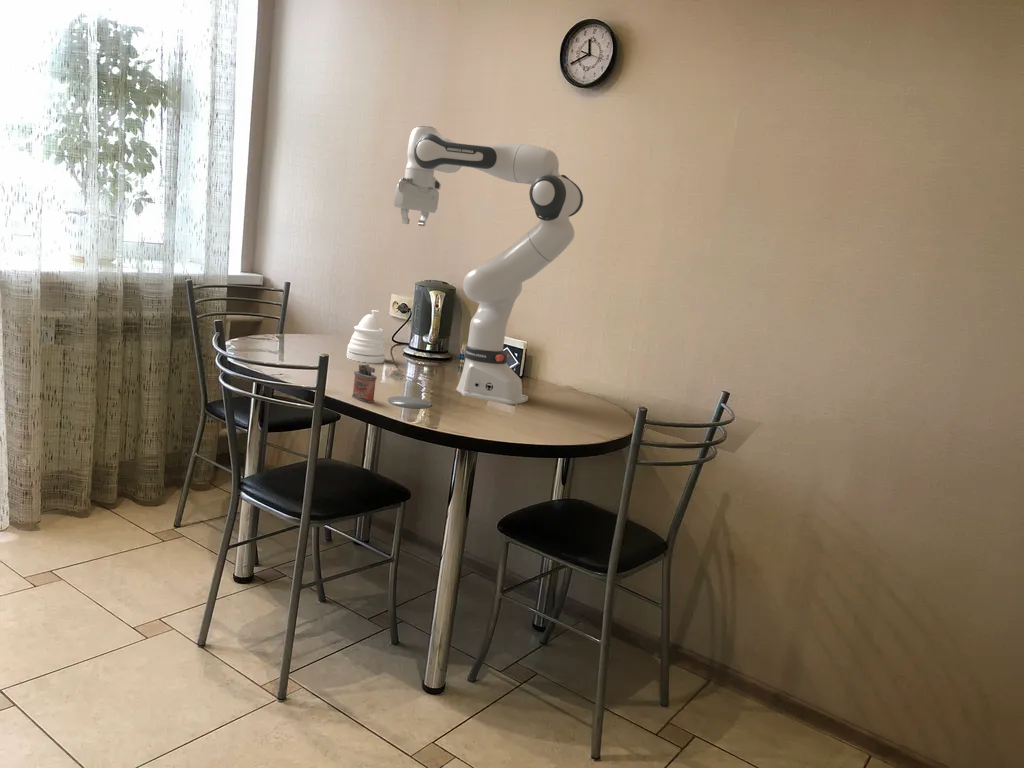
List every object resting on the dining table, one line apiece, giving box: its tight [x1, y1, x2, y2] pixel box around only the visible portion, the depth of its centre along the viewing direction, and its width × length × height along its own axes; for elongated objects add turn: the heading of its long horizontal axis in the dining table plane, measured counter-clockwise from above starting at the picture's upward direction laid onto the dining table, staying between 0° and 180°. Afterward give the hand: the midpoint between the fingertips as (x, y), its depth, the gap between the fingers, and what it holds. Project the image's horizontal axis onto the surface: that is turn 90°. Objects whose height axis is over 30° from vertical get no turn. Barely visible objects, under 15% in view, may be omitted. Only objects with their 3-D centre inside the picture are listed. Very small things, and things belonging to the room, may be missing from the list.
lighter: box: [351, 363, 378, 404], centre depth 217 cm, size 8×3×10 cm, turn 47°
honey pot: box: [346, 309, 386, 364], centre depth 272 cm, size 13×13×18 cm
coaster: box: [387, 395, 432, 410], centre depth 221 cm, size 12×12×1 cm
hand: (413, 225), depth 251 cm, fingers open, 8 cm apart
